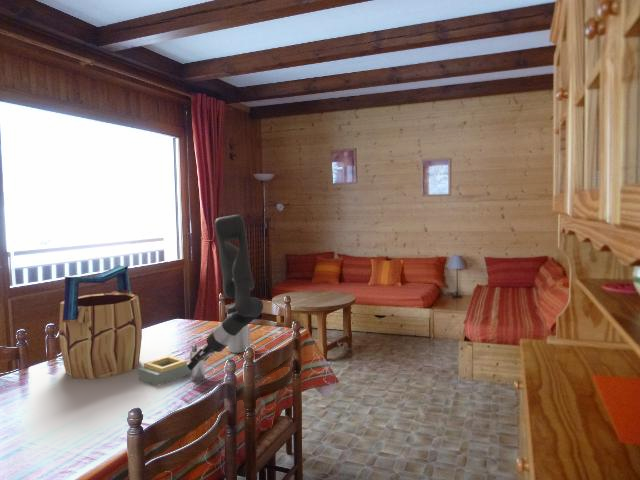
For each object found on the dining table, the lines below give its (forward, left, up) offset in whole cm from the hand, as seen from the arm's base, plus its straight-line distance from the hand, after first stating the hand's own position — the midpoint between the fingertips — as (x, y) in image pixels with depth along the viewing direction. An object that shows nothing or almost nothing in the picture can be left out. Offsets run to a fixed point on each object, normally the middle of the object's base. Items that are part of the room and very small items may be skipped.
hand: (195, 364), depth 177 cm
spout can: (0, +1, -6) cm, 6 cm away
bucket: (+14, -42, -6) cm, 45 cm away
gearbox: (+3, -12, -6) cm, 14 cm away
